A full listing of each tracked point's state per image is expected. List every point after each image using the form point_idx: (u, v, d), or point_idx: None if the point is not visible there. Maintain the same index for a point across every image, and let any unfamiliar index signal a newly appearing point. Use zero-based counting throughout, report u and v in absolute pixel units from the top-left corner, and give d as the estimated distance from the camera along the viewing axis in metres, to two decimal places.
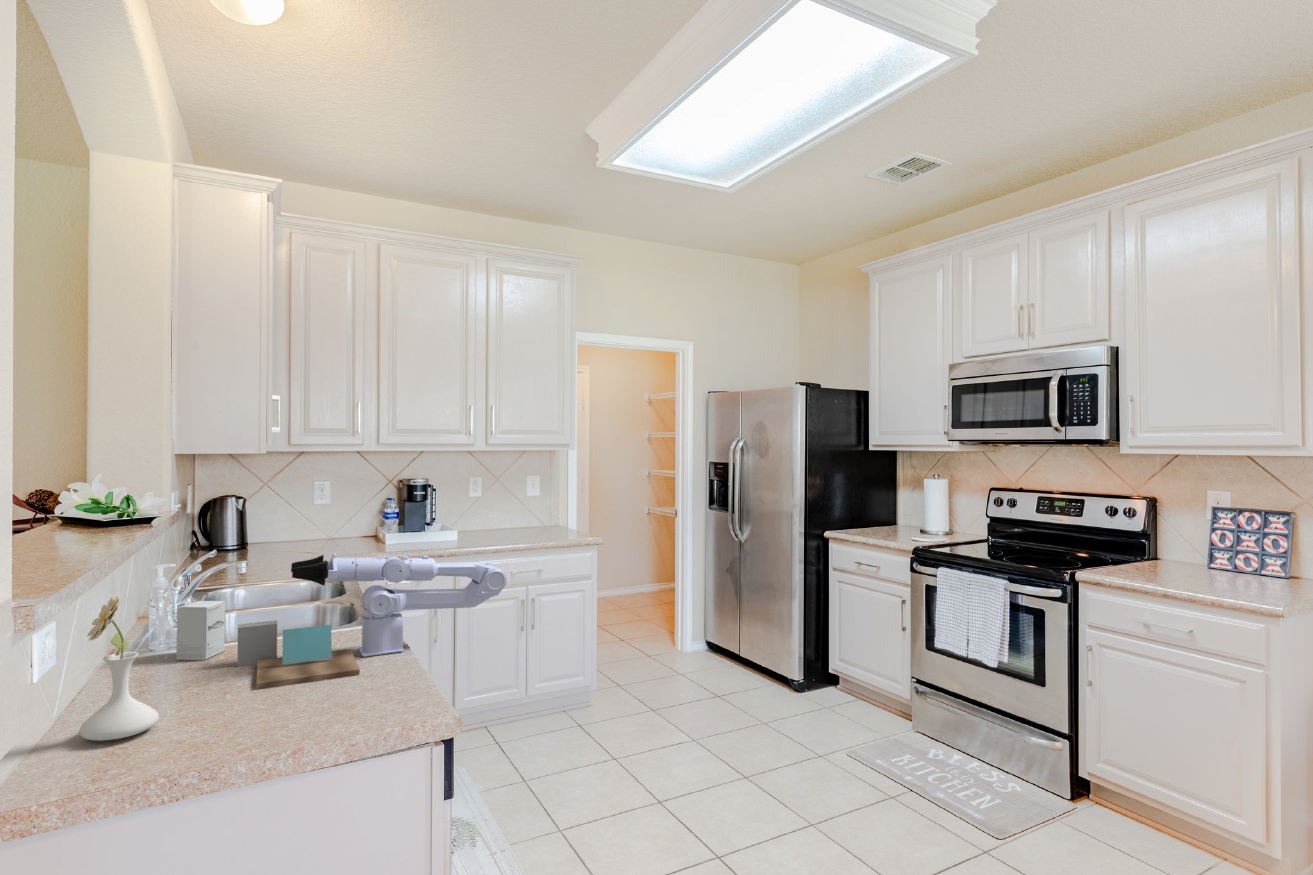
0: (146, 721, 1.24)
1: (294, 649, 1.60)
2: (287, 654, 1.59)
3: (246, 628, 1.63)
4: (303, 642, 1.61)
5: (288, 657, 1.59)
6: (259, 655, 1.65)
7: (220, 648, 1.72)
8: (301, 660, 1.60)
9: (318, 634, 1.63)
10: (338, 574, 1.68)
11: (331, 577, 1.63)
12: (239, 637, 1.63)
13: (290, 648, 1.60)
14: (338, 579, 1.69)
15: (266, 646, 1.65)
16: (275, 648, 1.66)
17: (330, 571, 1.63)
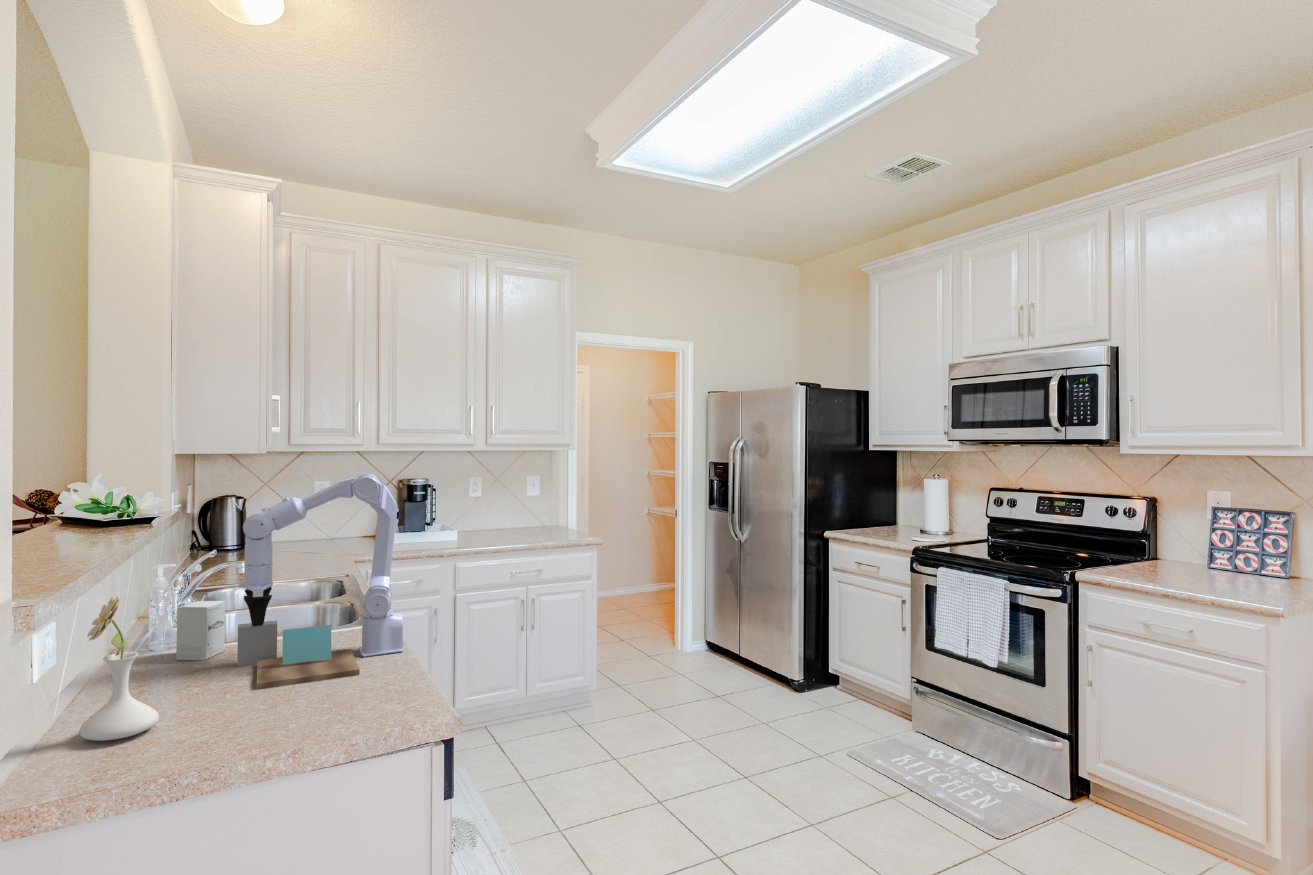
0: (146, 721, 1.24)
1: (294, 649, 1.60)
2: (287, 654, 1.59)
3: (246, 628, 1.63)
4: (303, 642, 1.61)
5: (288, 657, 1.59)
6: (259, 655, 1.65)
7: (220, 648, 1.72)
8: (301, 660, 1.60)
9: (318, 634, 1.63)
10: (261, 581, 1.64)
11: (261, 593, 1.60)
12: (239, 637, 1.63)
13: (290, 648, 1.60)
14: (268, 579, 1.65)
15: (266, 646, 1.65)
16: (275, 648, 1.66)
17: (254, 595, 1.59)
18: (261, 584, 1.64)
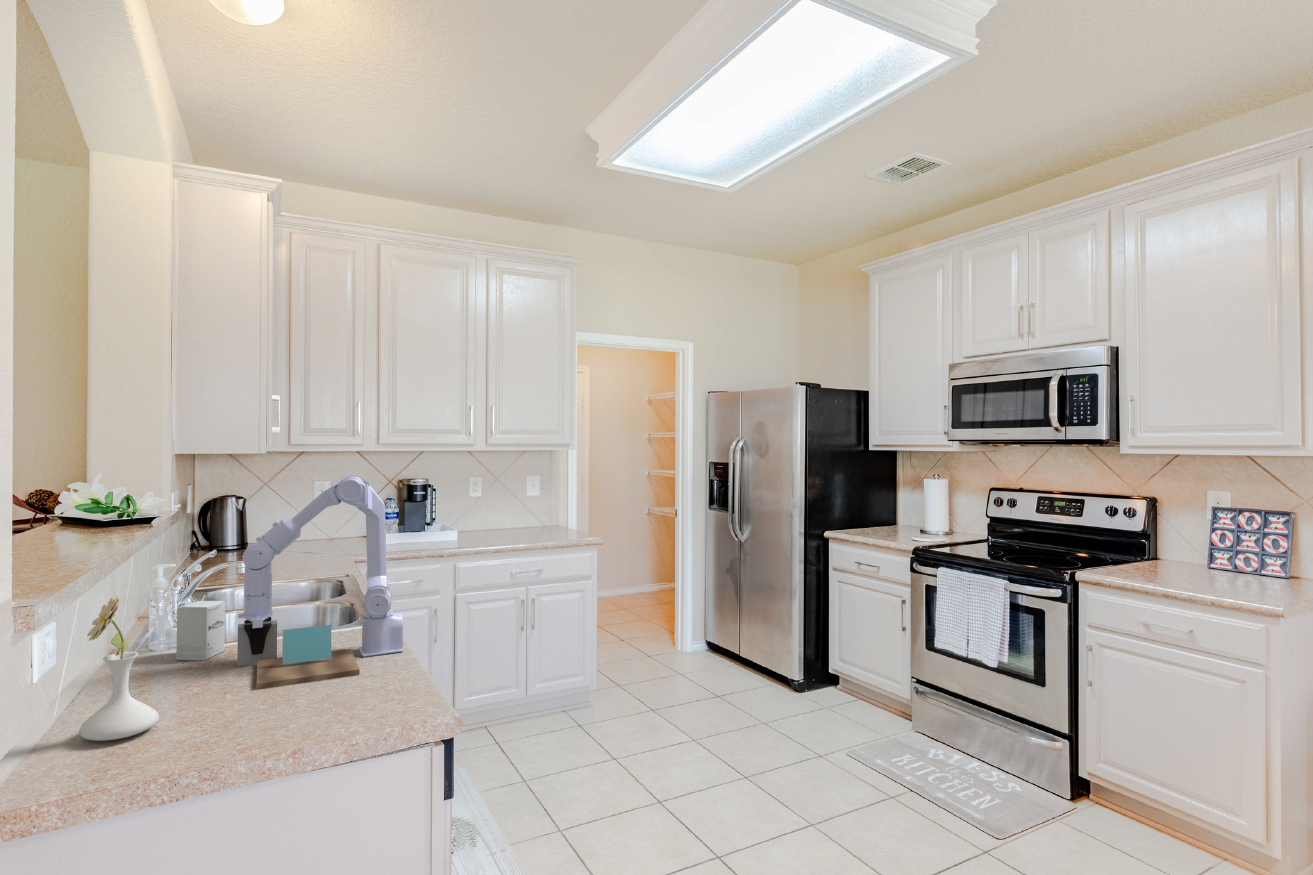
0: (146, 721, 1.24)
1: (294, 649, 1.60)
2: (287, 654, 1.59)
3: None
4: (303, 642, 1.61)
5: (288, 657, 1.59)
6: (259, 655, 1.65)
7: (220, 648, 1.72)
8: (301, 660, 1.60)
9: (318, 634, 1.63)
10: (261, 612, 1.64)
11: (260, 624, 1.60)
12: (239, 637, 1.63)
13: (290, 648, 1.60)
14: (267, 609, 1.65)
15: (266, 646, 1.65)
16: (275, 648, 1.66)
17: (253, 626, 1.59)
18: (261, 614, 1.64)
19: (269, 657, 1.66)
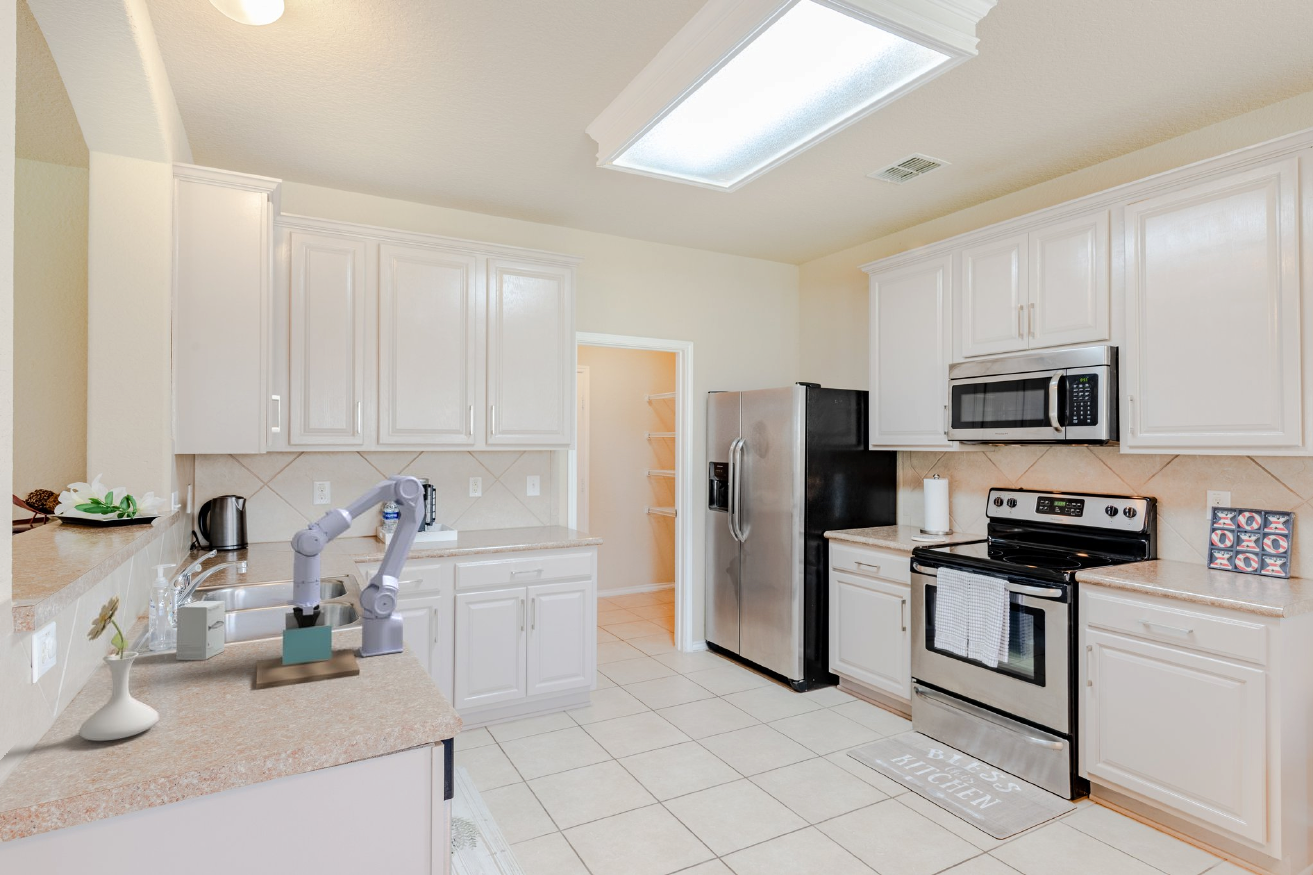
0: (146, 721, 1.24)
1: (294, 649, 1.60)
2: (287, 654, 1.59)
3: (293, 617, 1.62)
4: (303, 642, 1.61)
5: (288, 657, 1.59)
6: None
7: (220, 648, 1.72)
8: (301, 661, 1.60)
9: (318, 635, 1.62)
10: (310, 599, 1.63)
11: (311, 611, 1.59)
12: (287, 626, 1.61)
13: (290, 648, 1.59)
14: (316, 596, 1.64)
15: None
16: None
17: (304, 613, 1.58)
18: (310, 601, 1.62)
19: None
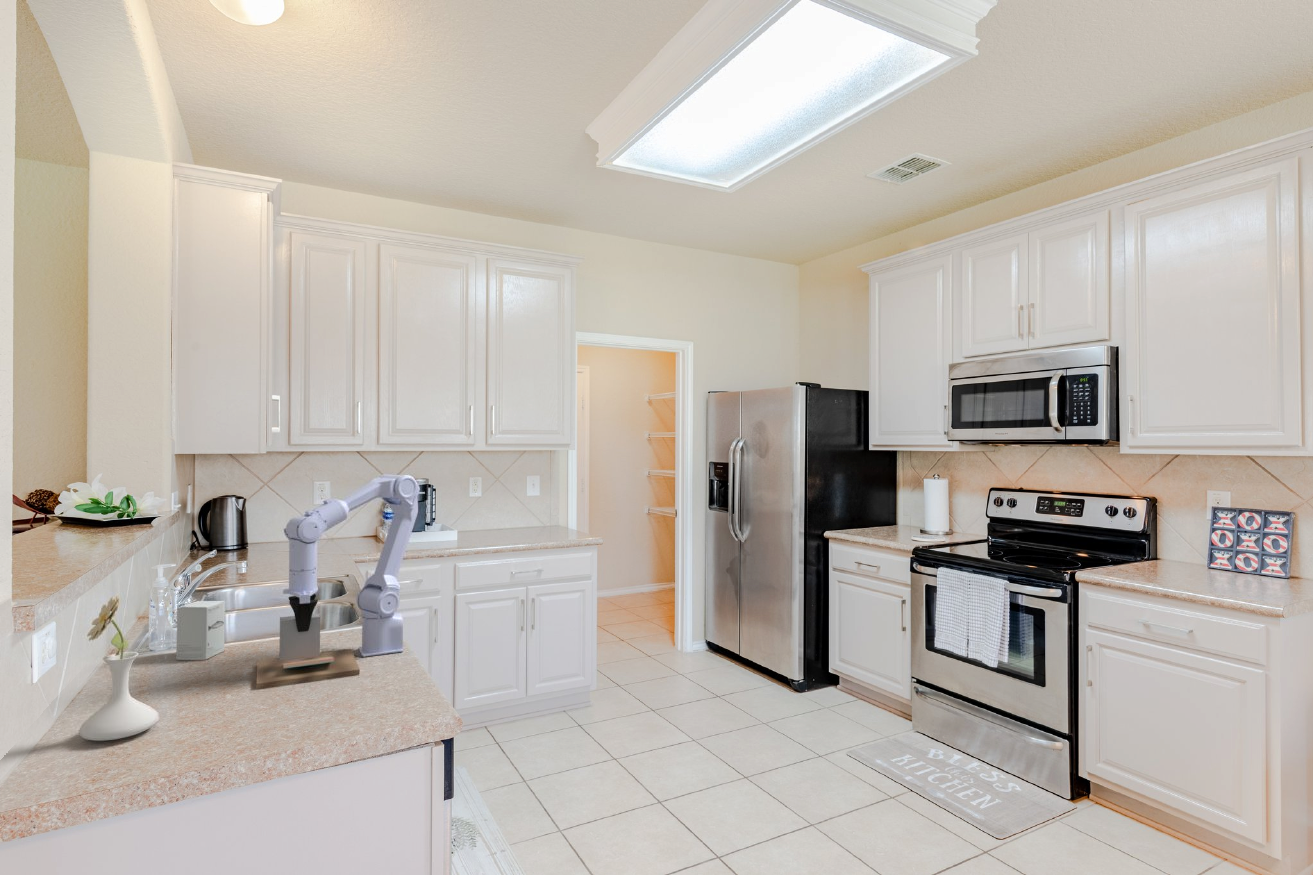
0: (146, 721, 1.24)
1: None
2: None
3: (288, 621, 1.57)
4: None
5: None
6: (302, 649, 1.58)
7: (220, 648, 1.72)
8: None
9: None
10: (307, 587, 1.58)
11: (308, 599, 1.54)
12: (282, 630, 1.56)
13: None
14: (313, 585, 1.59)
15: (309, 640, 1.59)
16: (318, 642, 1.60)
17: (300, 601, 1.53)
18: (307, 590, 1.58)
19: (312, 652, 1.59)
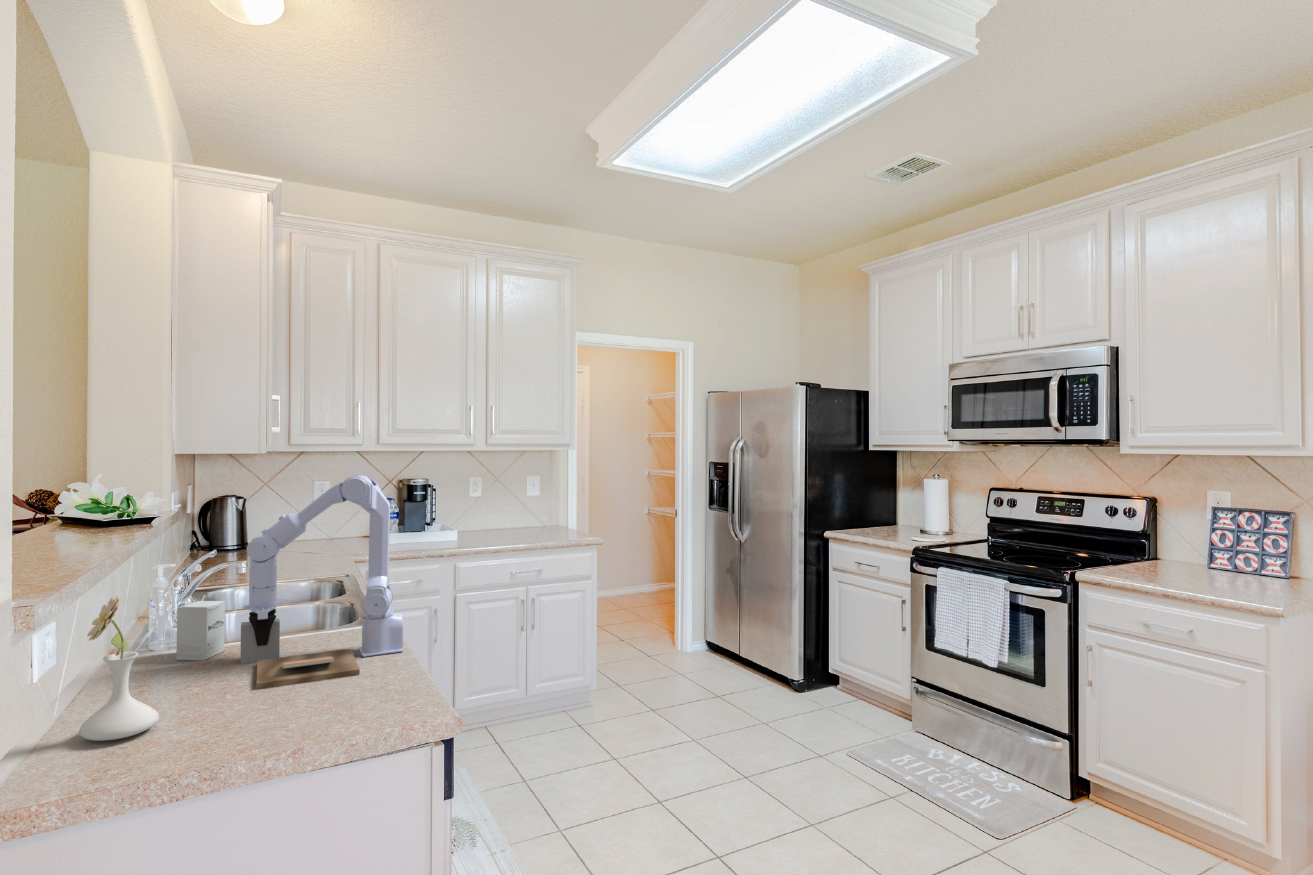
0: (146, 721, 1.24)
1: None
2: None
3: (249, 626, 1.65)
4: None
5: None
6: (262, 653, 1.67)
7: (220, 648, 1.72)
8: None
9: None
10: (266, 603, 1.66)
11: (265, 615, 1.62)
12: (242, 635, 1.65)
13: None
14: (272, 601, 1.67)
15: (269, 644, 1.67)
16: (278, 646, 1.68)
17: (258, 617, 1.61)
18: (266, 606, 1.66)
19: (272, 655, 1.68)
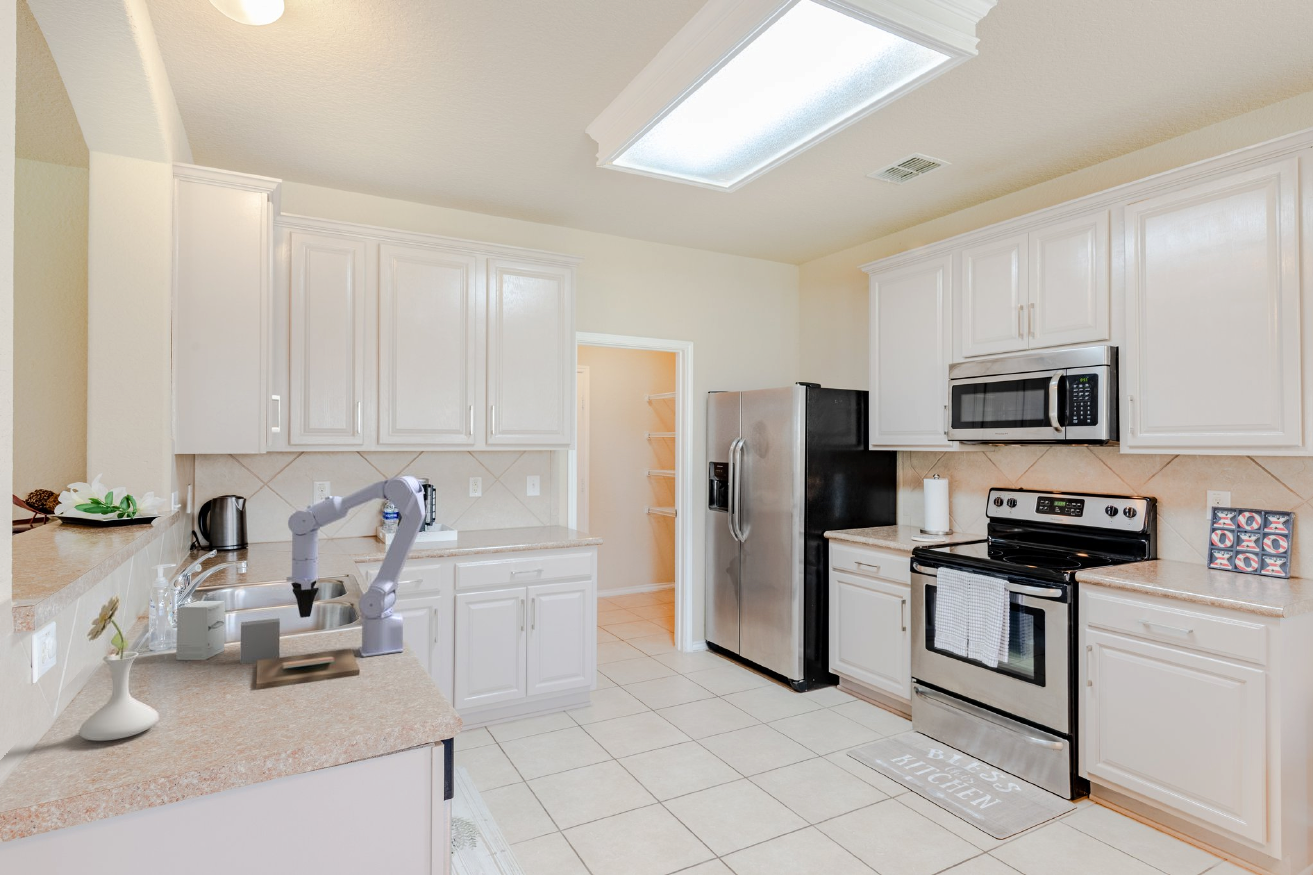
0: (146, 721, 1.24)
1: None
2: None
3: (248, 626, 1.65)
4: None
5: None
6: (262, 652, 1.67)
7: (220, 648, 1.72)
8: None
9: None
10: (308, 575, 1.72)
11: (309, 586, 1.68)
12: (242, 635, 1.65)
13: None
14: (314, 573, 1.74)
15: (269, 644, 1.67)
16: (277, 646, 1.68)
17: (302, 587, 1.68)
18: (308, 577, 1.72)
19: (272, 655, 1.68)
